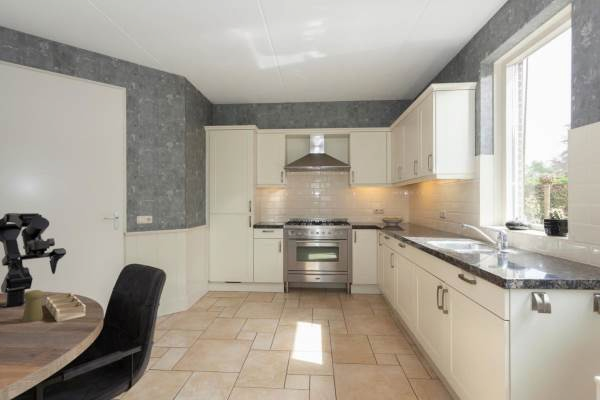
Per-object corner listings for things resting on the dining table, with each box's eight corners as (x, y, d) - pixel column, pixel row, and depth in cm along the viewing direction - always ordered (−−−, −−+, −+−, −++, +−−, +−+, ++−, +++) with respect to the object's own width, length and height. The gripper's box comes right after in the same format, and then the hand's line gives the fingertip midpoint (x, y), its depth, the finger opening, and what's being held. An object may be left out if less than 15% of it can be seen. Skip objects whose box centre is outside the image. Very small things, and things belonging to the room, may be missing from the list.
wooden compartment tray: (45, 306, 127) (46, 296, 127) (70, 301, 133) (71, 292, 133) (57, 321, 110) (57, 311, 110) (85, 315, 117) (85, 305, 117)
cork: (47, 317, 115) (48, 288, 115) (31, 323, 109) (33, 293, 109) (33, 316, 115) (34, 288, 116) (17, 322, 109) (18, 292, 110)
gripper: (8, 233, 109) (15, 272, 105) (67, 230, 126) (75, 263, 121) (-2, 246, 114) (5, 284, 110) (57, 241, 130) (64, 274, 126)
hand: (39, 275), depth 117 cm, fingers open, 9 cm apart
